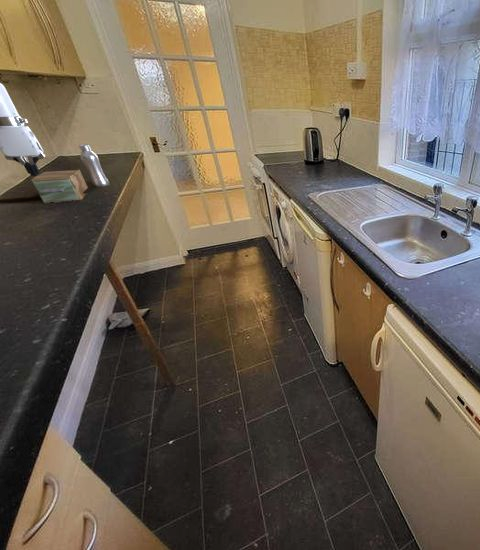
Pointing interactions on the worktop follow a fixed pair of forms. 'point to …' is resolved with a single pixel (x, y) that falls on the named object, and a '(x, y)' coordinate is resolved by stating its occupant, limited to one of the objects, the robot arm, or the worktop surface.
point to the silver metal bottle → (93, 166)
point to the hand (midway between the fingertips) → (35, 175)
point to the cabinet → (73, 175)
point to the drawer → (56, 190)
